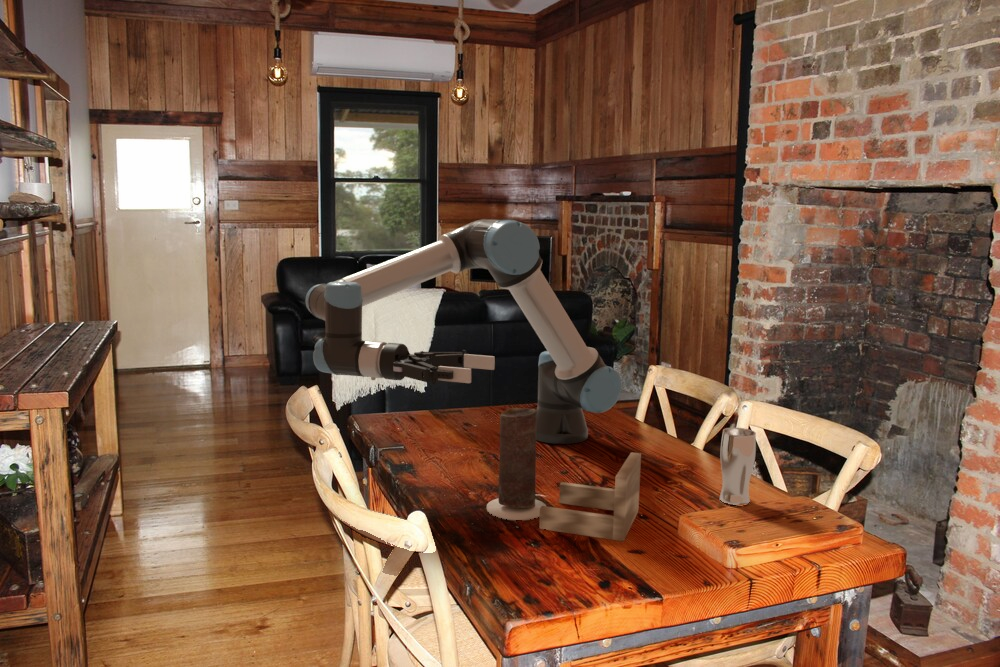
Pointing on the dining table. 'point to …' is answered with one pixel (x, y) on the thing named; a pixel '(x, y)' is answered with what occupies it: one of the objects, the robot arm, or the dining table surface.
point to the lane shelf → (598, 505)
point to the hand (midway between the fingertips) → (482, 369)
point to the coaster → (514, 511)
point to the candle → (517, 458)
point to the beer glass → (737, 464)
